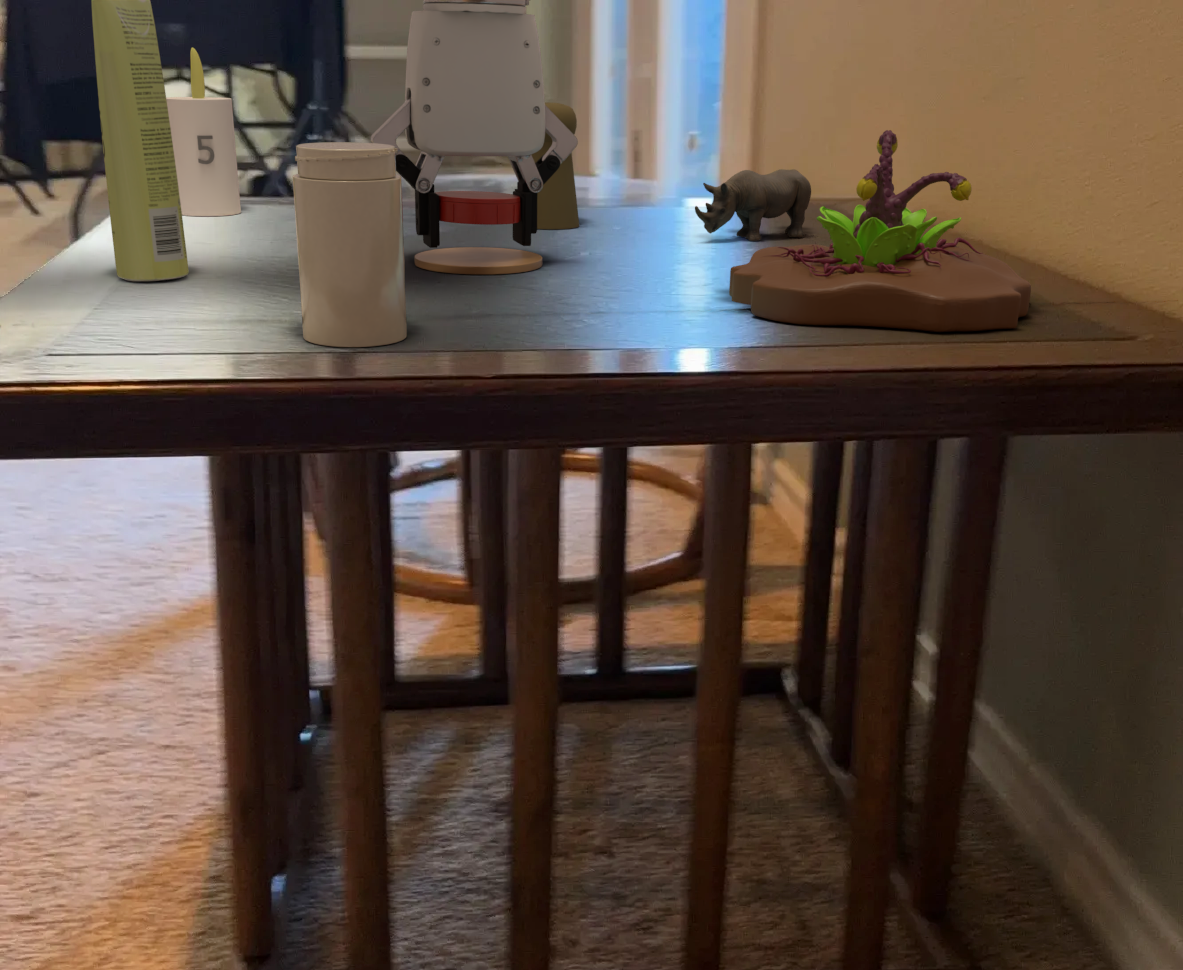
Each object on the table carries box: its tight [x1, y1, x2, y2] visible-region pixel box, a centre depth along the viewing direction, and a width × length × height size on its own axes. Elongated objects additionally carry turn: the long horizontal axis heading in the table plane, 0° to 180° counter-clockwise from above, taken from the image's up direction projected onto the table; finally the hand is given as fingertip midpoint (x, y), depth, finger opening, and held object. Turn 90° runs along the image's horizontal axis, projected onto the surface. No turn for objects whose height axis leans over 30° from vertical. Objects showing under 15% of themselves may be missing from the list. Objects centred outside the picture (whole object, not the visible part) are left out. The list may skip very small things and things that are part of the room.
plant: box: [728, 129, 1032, 333], centre depth 87 cm, size 20×20×11 cm
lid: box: [434, 190, 521, 226], centre depth 99 cm, size 7×7×2 cm
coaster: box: [414, 246, 543, 276], centre depth 101 cm, size 10×10×1 cm
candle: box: [166, 47, 242, 217], centre depth 124 cm, size 6×6×15 cm
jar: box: [292, 141, 408, 348], centre depth 74 cm, size 6×6×11 cm
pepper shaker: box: [531, 101, 580, 230], centre depth 122 cm, size 6×6×11 cm
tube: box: [91, 0, 190, 282], centre depth 89 cm, size 6×5×20 cm
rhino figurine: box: [694, 168, 812, 242], centre depth 117 cm, size 4×14×6 cm, turn 124°
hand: (476, 242), depth 100 cm, fingers closed on lid, 6 cm apart
